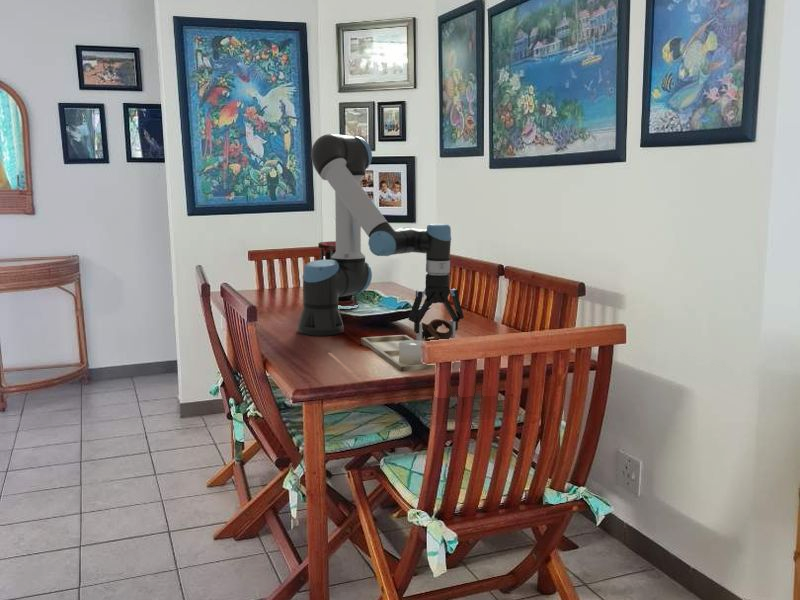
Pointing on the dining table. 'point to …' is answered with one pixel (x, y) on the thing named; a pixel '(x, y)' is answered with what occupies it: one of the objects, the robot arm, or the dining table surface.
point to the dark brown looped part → (432, 327)
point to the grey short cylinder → (410, 352)
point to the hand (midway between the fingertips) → (435, 341)
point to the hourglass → (330, 250)
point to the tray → (392, 351)
